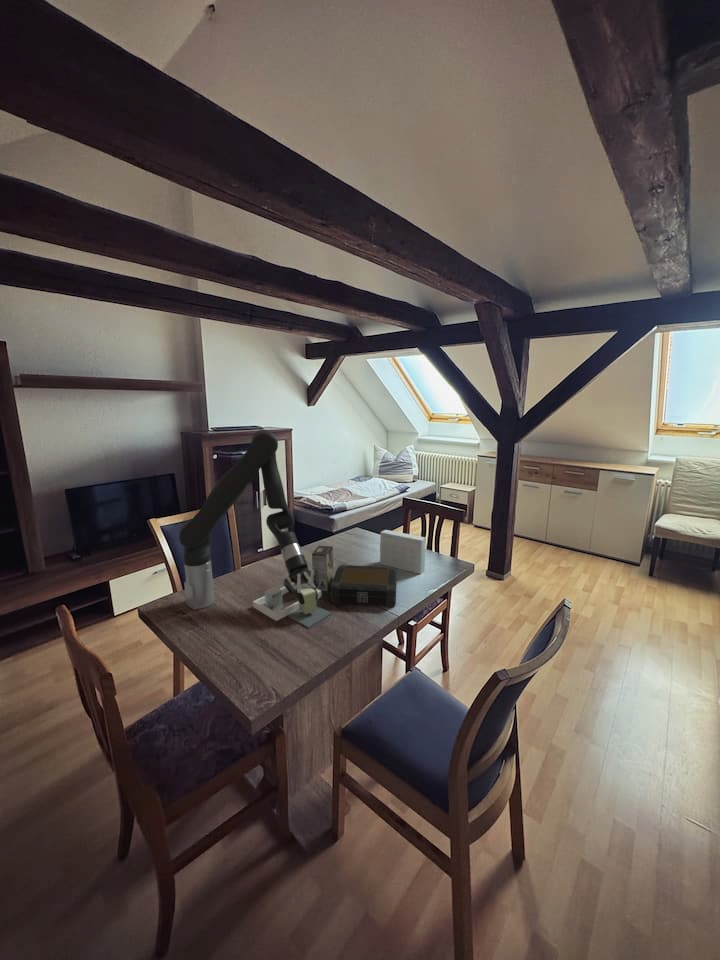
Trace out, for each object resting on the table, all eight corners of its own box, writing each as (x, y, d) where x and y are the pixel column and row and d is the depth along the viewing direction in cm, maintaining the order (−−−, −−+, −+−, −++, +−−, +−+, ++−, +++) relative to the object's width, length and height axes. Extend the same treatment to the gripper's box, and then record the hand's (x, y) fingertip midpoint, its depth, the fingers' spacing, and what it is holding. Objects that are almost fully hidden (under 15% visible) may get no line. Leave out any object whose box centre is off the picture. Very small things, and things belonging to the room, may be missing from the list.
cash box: (329, 605, 145) (329, 587, 143) (338, 580, 164) (338, 564, 163) (395, 609, 142) (395, 590, 140) (396, 583, 162) (396, 566, 160)
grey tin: (273, 613, 139) (272, 595, 137) (265, 609, 142) (264, 591, 140) (283, 608, 142) (282, 590, 141) (275, 604, 145) (274, 586, 144)
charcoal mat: (308, 628, 130) (308, 626, 130) (288, 616, 137) (288, 615, 137) (331, 614, 138) (331, 613, 138) (310, 604, 145) (310, 602, 145)
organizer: (276, 621, 134) (275, 614, 134) (253, 607, 143) (253, 601, 143) (321, 596, 151) (321, 590, 150) (298, 585, 159) (298, 580, 159)
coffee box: (319, 579, 165) (318, 544, 161) (333, 581, 163) (333, 546, 160) (312, 590, 156) (311, 553, 152) (327, 591, 155) (327, 554, 151)
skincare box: (425, 570, 173) (426, 537, 170) (420, 574, 169) (421, 541, 165) (384, 559, 184) (385, 528, 181) (379, 563, 180) (379, 532, 177)
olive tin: (304, 614, 135) (304, 595, 133) (299, 608, 138) (298, 589, 137) (316, 610, 137) (315, 591, 135) (310, 604, 141) (309, 586, 139)
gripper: (278, 558, 136) (294, 604, 129) (314, 549, 144) (330, 592, 137) (273, 567, 141) (288, 611, 134) (308, 558, 149) (323, 599, 142)
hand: (309, 601), depth 135 cm, fingers closed on olive tin, 4 cm apart
